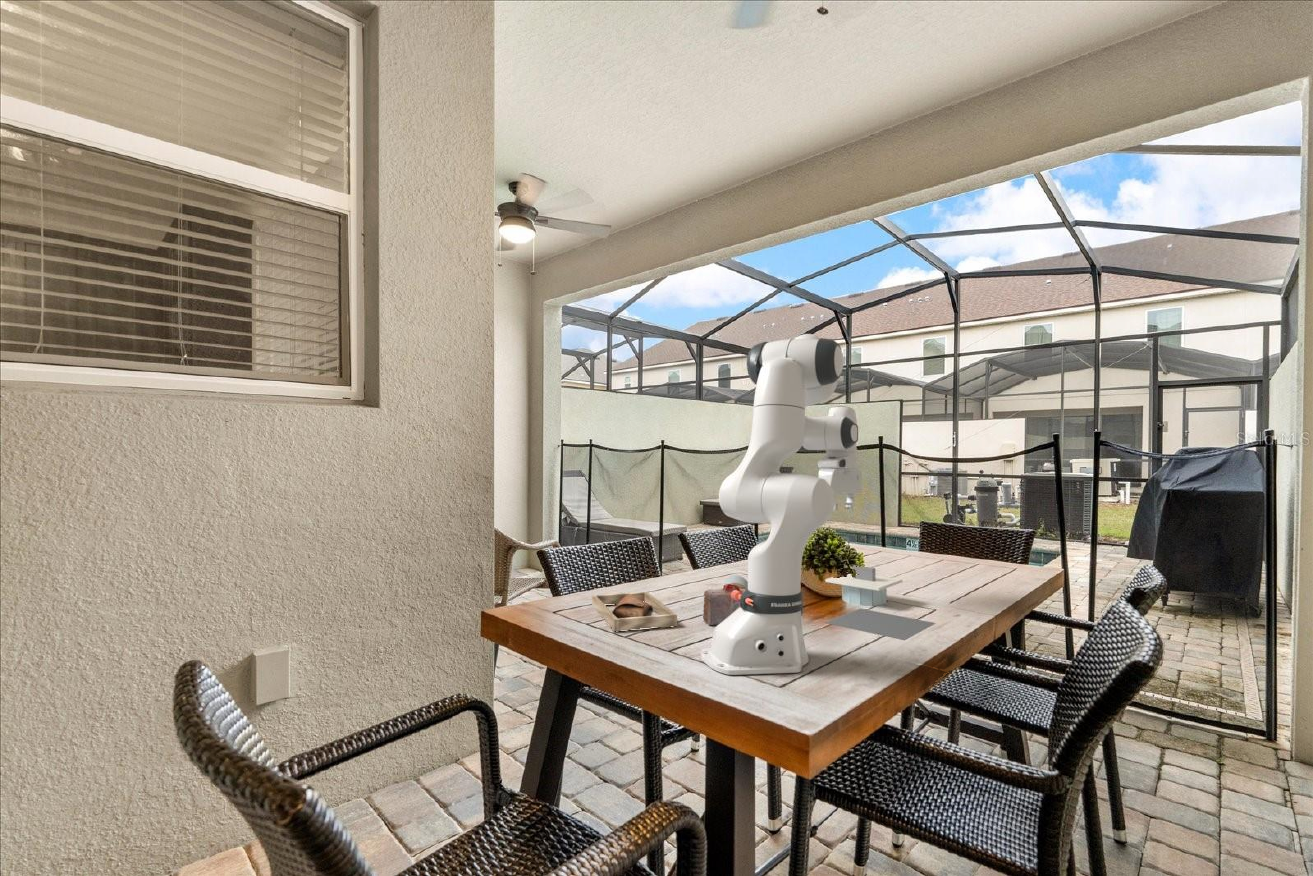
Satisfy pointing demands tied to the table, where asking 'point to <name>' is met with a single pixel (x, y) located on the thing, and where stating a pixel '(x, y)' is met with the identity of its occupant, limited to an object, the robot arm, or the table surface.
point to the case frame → (618, 624)
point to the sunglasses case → (631, 607)
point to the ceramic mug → (737, 581)
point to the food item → (720, 604)
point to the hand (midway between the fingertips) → (841, 509)
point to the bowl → (864, 596)
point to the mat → (881, 623)
